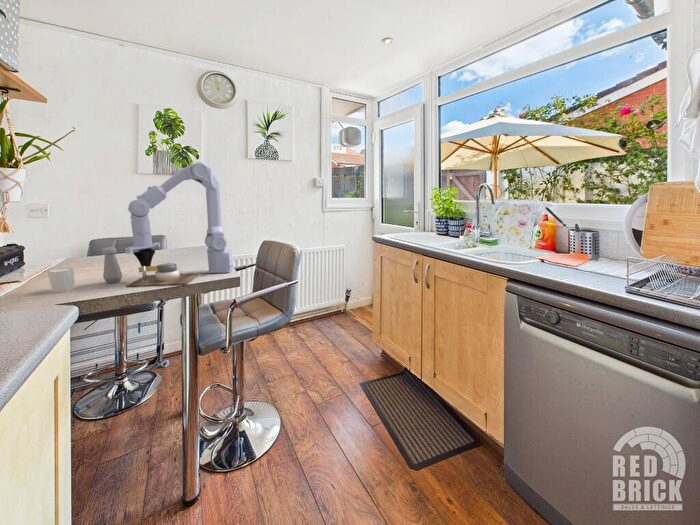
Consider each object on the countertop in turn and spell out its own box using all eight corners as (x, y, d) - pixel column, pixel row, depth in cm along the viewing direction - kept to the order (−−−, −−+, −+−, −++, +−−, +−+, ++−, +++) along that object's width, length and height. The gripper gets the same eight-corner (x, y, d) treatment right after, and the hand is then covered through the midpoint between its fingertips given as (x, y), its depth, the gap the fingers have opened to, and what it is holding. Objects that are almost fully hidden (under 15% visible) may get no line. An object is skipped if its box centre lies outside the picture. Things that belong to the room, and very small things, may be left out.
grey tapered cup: (61, 287, 116) (57, 268, 115) (82, 287, 117) (78, 267, 115) (45, 293, 110) (41, 272, 108) (67, 292, 110) (63, 272, 109)
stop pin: (151, 282, 123) (149, 265, 122) (148, 284, 120) (145, 266, 119) (143, 282, 123) (140, 265, 121) (139, 284, 120) (137, 267, 119)
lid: (176, 267, 130) (176, 262, 129) (176, 271, 124) (176, 265, 124) (140, 270, 124) (139, 265, 124) (138, 274, 119) (137, 268, 118)
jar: (183, 275, 130) (182, 267, 130) (175, 280, 123) (174, 272, 122) (161, 276, 129) (160, 268, 129) (152, 281, 122) (151, 273, 121)
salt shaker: (113, 284, 120) (108, 249, 118) (100, 283, 121) (94, 248, 119) (127, 280, 126) (122, 246, 123) (114, 279, 127) (109, 246, 124)
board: (199, 274, 135) (199, 273, 135) (186, 284, 120) (186, 283, 120) (146, 276, 132) (146, 274, 132) (126, 287, 117) (126, 285, 117)
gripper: (147, 230, 129) (151, 265, 132) (115, 235, 115) (121, 273, 118) (163, 231, 128) (167, 265, 131) (133, 235, 114) (138, 274, 117)
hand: (146, 269), depth 124 cm, fingers closed
